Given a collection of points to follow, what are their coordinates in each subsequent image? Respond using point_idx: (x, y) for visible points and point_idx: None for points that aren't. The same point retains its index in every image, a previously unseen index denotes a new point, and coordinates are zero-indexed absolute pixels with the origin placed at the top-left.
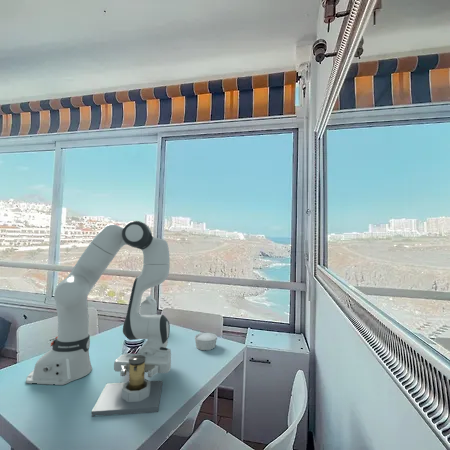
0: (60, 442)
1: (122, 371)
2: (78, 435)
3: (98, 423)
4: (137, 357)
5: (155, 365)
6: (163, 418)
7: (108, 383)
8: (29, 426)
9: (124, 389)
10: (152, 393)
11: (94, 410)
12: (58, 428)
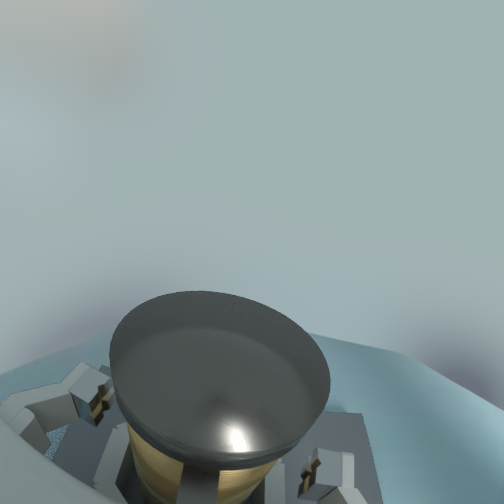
0: (370, 352)
1: (336, 452)
2: (345, 362)
3: None
4: (222, 382)
5: (16, 430)
6: (98, 343)
7: None
8: (466, 399)
9: None
10: (97, 463)
11: (354, 416)
12: (407, 389)
